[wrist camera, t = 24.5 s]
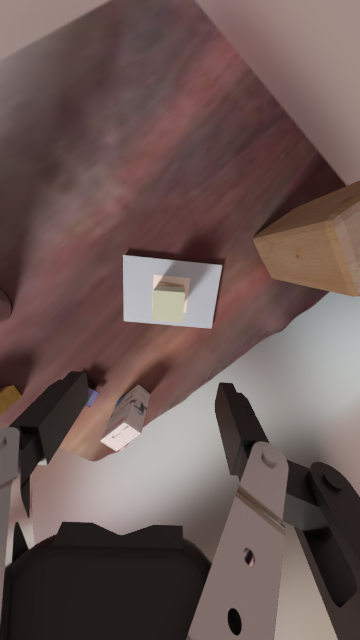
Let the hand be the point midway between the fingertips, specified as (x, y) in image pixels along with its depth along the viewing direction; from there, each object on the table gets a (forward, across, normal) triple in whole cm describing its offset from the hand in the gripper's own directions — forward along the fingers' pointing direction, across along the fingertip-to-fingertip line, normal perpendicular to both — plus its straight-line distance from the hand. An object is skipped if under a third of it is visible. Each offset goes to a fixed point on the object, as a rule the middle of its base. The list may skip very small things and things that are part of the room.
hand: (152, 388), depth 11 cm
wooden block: (+30, -22, -12) cm, 39 cm away
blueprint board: (+30, 0, 0) cm, 30 cm away
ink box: (+30, +8, +30) cm, 43 cm away
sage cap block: (+24, 0, 0) cm, 24 cm away
